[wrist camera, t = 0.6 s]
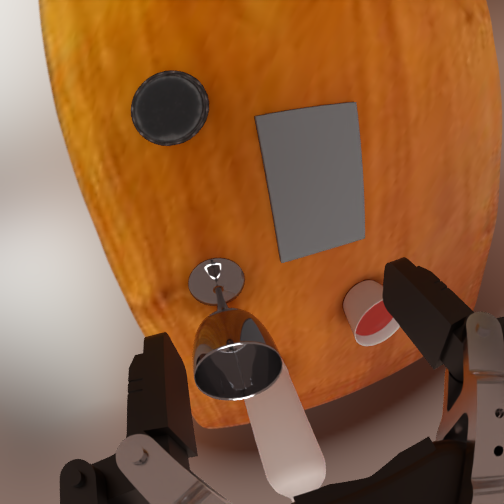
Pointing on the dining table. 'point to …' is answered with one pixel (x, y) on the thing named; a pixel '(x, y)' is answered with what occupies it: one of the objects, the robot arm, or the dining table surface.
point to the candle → (368, 314)
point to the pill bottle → (169, 108)
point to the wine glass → (230, 337)
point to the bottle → (286, 439)
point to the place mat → (313, 177)
